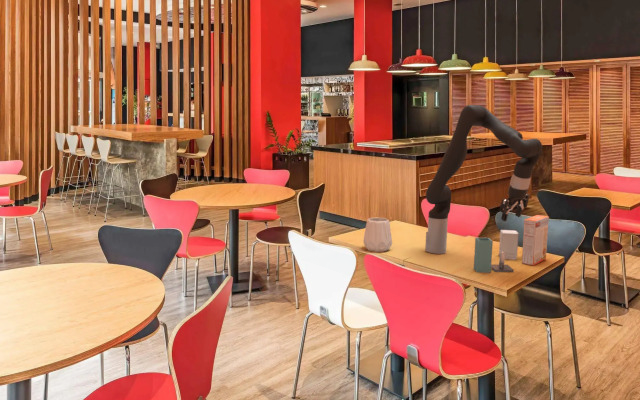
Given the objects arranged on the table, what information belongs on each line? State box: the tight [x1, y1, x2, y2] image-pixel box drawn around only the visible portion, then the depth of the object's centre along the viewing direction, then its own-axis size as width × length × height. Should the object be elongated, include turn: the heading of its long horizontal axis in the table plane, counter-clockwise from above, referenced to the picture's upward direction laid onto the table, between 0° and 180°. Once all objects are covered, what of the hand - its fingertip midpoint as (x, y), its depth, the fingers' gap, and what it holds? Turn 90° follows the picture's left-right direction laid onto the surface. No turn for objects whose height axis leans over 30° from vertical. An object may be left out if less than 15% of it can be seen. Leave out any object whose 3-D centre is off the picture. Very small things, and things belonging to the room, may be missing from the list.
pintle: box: [491, 252, 515, 273], centre depth 233 cm, size 8×8×8 cm
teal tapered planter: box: [473, 237, 494, 274], centre depth 230 cm, size 6×6×14 cm
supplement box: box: [498, 229, 520, 261], centre depth 251 cm, size 7×7×13 cm
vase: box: [363, 217, 393, 253], centre depth 264 cm, size 14×14×15 cm
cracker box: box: [521, 214, 550, 267], centre depth 244 cm, size 14×6×21 cm, turn 134°
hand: (510, 218), depth 229 cm, fingers open, 8 cm apart
